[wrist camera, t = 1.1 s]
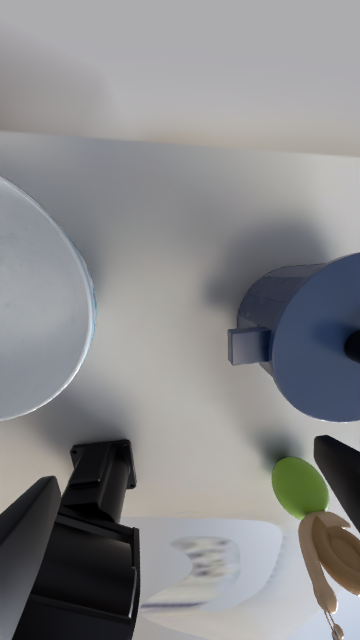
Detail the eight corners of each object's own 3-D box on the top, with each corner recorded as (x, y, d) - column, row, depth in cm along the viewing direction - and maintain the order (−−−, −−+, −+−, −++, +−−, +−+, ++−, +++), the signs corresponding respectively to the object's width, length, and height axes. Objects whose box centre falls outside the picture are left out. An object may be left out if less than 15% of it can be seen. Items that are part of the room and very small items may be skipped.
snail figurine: (256, 447, 24) (343, 615, 12) (308, 444, 24) (441, 603, 12) (254, 483, 25) (330, 668, 13) (303, 479, 25) (420, 655, 14)
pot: (355, 359, 22) (447, 400, 15) (212, 373, 21) (236, 423, 14) (368, 260, 20) (484, 251, 12) (208, 272, 19) (234, 270, 12)
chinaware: (124, 217, 17) (92, 173, 10) (118, 373, 21) (90, 428, 13) (-61, 194, 16) (-258, 123, 9) (-37, 363, 19) (-168, 418, 12)
